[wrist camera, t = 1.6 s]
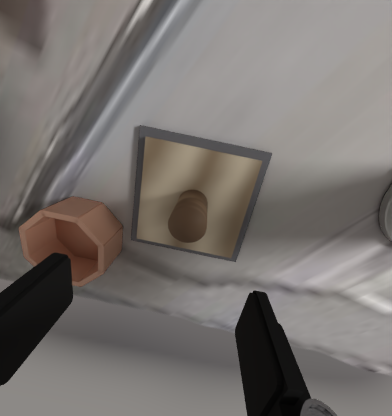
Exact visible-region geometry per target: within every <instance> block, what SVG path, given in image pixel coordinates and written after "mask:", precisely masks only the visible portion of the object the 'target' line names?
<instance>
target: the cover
mask: <svg viewBox="0 0 392 416" xmlns="http://www.w3.org/2000/svg"><path fill="white" fill-rule="evenodd" d="M261 164H262V161H261V160H256V159H251V158H247V157H242V156H237V155H232V154H228V153H223V152H218V151H214V150H209V149H204V148H199V147H195V146H190V145H185V144H180V143H176V142H171V141H166V140H162V139H157V138H152V137H146V138H145V149H144V160H143V172H142V183H141V194H140V205H139V216H138V227H137V239H142V240H147V241H151V242H156V243H161V244H166V245H171V246H175V247H180V248H185V249H190V250H194V251H199V252H204V253H209V254H213V255H218V256H223V257H228V258H231V257H232V254H233V251H234V248H235V245H236V242H237V239H238V235H239V232H240V229H241V226H242V223H243V220H244V217H245V214H246V211H247V208H248V204H249V201H250V198H251V195H252V192H253V189H254V186H255V183H256V180H257V177H258V174H259V170H260V167H261Z"/></svg>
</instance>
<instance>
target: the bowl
mask: <svg viewBox="0 0 392 416" xmlns="http://www.w3.org/2000/svg"><path fill="white" fill-rule="evenodd" d="M19 233H20V239H21V244H22V250H23V255H24V258H25V259H26V260H28V261H29V262H30V263H31V264H32V265H33V266H34V267H35V266H36V265H37V264H39V263H40V262H41V261H43V260H44V259H45V258H47V257H48V256H49V255H51V254H52V253H55V252H56V253H61V254H66V255H68V258H70V259H71V271H72V285H74V286H79V287H82V286H83V285H85V284H87V283H89V282H90V281H92V280H94V279H95V278H97V277H99V276H101V275H102V274H104V272H105V271H106V270H107V268H108V267H109V266H110V265H111V263H112V262H113V261H114V259H115V258H116V257H117V256H118V254H119V253H120V252H121V250H122V235H123V226H122V224H121V223H120V222H119V221H118V220H117V219H116V217H115V216H114V215H113V214H112V213H111V212H110V210H109V209H108V208H107V207H106V206H105V205H104V203H102V202H98V201H93V200H88V199H83V198H79V197H74V196H73V197H70V198H67V199H65V200H63V201H60V202H58V203H56V204H54V205H51V206H49V207H47V208H44V209H42V210H40V211H39V212H38V213H36V214H35V215H34V216H33V217H31V218H30V219H29V220H28V221H26V222H25V223H24V224H23V225H21V226H20V227H19Z"/></svg>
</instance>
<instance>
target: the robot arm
mask: <svg viewBox="0 0 392 416" xmlns="http://www.w3.org/2000/svg"><path fill="white" fill-rule="evenodd" d="M379 223H380V227H381V230H382V231H383V233H384V235H385V236H386V237H387V238H388V239H389V240H390V241H391V242H392V185H391V186H390V188H389V189H388V191H387V192H386V194H385V196H384V198H383V201H382V203H381V206H380V211H379ZM72 299H73V288H72V271H71V259H70V258H68V255H66V254H61V253H56V252H55V253H52V254H51V255H49V256H48V257H47V258H45V259H44V260H43V261H41V262H40V263H39V264H37V265H36V266H35V267H33V268H32V269H31V270H30V271H28V272H27V273H26V274H24V275H23V276H22V277H20V278H19V279H18V280H16V281H15V282H14V283H13V284H11V285H10V286H9V287H7V288H6V289H5V290H3V291H2V292H1V293H0V386H1V385H4V384H5V383H7V382H8V381H9V380H10V378H11V377H12V376H13V375H14V373H15V372H16V371H17V370H18V368H19V367H20V366H21V365H22V364H23V362H24V361H25V360H26V359H27V357H28V356H29V355H30V353H31V352H32V351H33V350H34V349H35V347H36V346H37V345H38V344H39V342H40V341H41V340H42V339H43V337H44V336H45V335H46V334H47V332H48V331H49V330H50V329H51V327H52V326H53V325H54V324H55V322H56V321H57V320H58V319H59V318H60V316H61V315H62V314H63V313H64V311H65V310H66V309H67V308H68V306H69V305H70V304H71V302H72ZM235 337H236V343H237V349H238V356H239V362H240V370H241V376H242V383H243V390H244V395H245V402H246V410H247V416H337V415H336V414H335V413H334V412H333V410H331V408H330V407H328V406H327V405H326V404H324V403H323V402H321V401H319V400H317V399H311V397H310V394H309V392H308V390H307V387H306V385H305V382H304V380H303V377H302V374H301V372H300V369H299V367H298V365H297V362H296V360H295V357H294V355H293V352H292V350H291V347H290V345H289V342H288V340H287V337H286V335H285V332H284V330H283V328H282V326H281V325H280V324H279V323H278V322H277V320H276V317H275V314H274V312H273V309H272V307H271V304H270V302H269V299H268V296H267V294H266V293H265V292H260V291H253V293H249V295H248V298H247V300H246V303H245V305H244V308H243V310H242V313H241V316H240V318H239V321H238V323H237V326H236V329H235Z"/></svg>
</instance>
